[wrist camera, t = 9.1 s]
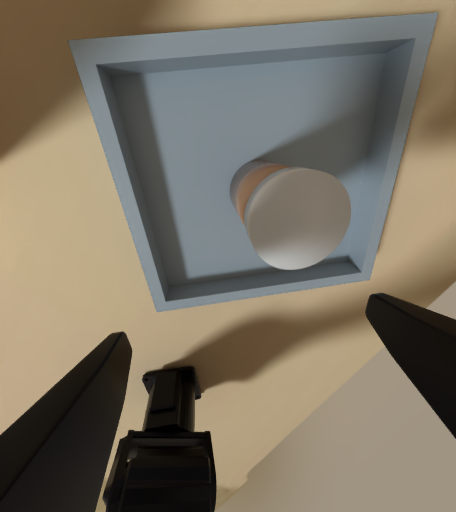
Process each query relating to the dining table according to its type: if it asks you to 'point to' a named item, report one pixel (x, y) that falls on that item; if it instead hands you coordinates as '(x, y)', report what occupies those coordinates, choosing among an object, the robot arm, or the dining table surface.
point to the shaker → (290, 212)
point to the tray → (250, 140)
